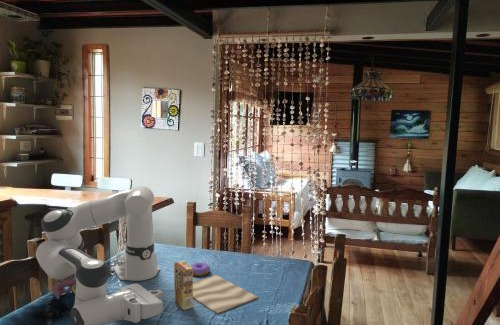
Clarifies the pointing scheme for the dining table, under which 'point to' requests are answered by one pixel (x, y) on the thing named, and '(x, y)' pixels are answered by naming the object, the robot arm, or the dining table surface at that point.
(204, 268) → the donut
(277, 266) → the dining table surface
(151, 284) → the dining table surface
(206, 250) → the dining table surface
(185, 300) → the candy box
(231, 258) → the dining table surface
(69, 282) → the pink arch
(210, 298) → the wooden board
